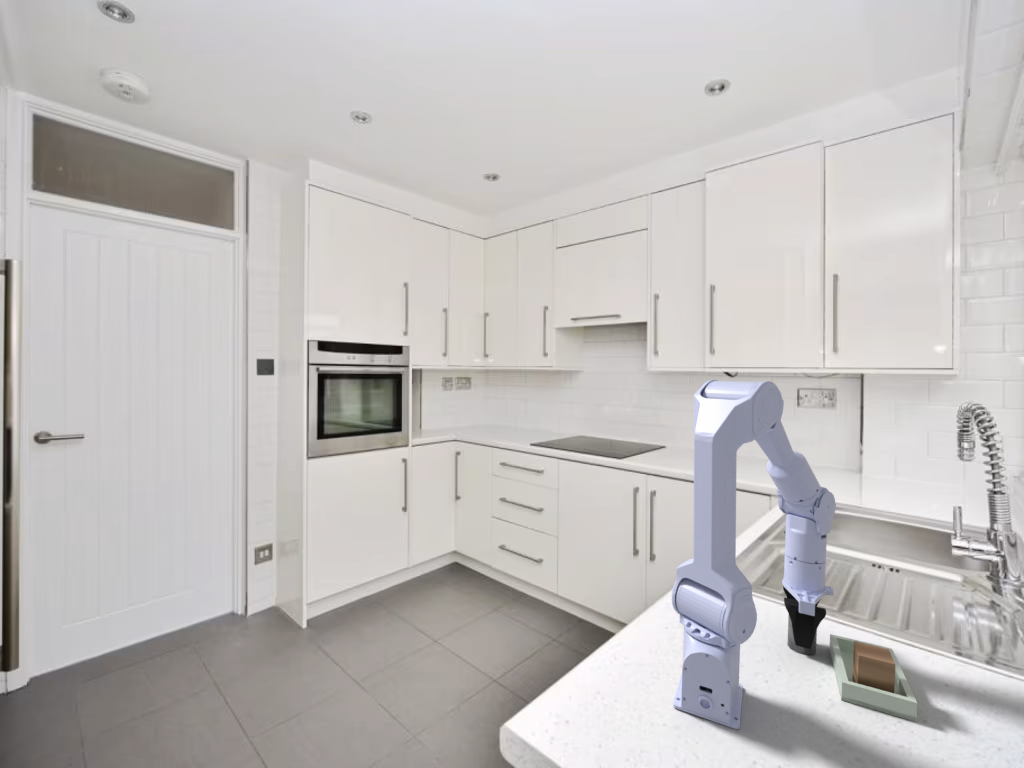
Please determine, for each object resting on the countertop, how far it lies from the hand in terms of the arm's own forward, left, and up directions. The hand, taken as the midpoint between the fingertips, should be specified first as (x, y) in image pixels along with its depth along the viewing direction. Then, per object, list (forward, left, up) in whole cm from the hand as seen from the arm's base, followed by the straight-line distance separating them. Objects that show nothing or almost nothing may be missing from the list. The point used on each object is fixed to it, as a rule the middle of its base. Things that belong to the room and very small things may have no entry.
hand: (801, 639), depth 76 cm
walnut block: (-9, -8, -1) cm, 12 cm away
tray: (-5, -8, -1) cm, 10 cm away
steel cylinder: (0, 0, -1) cm, 1 cm away
